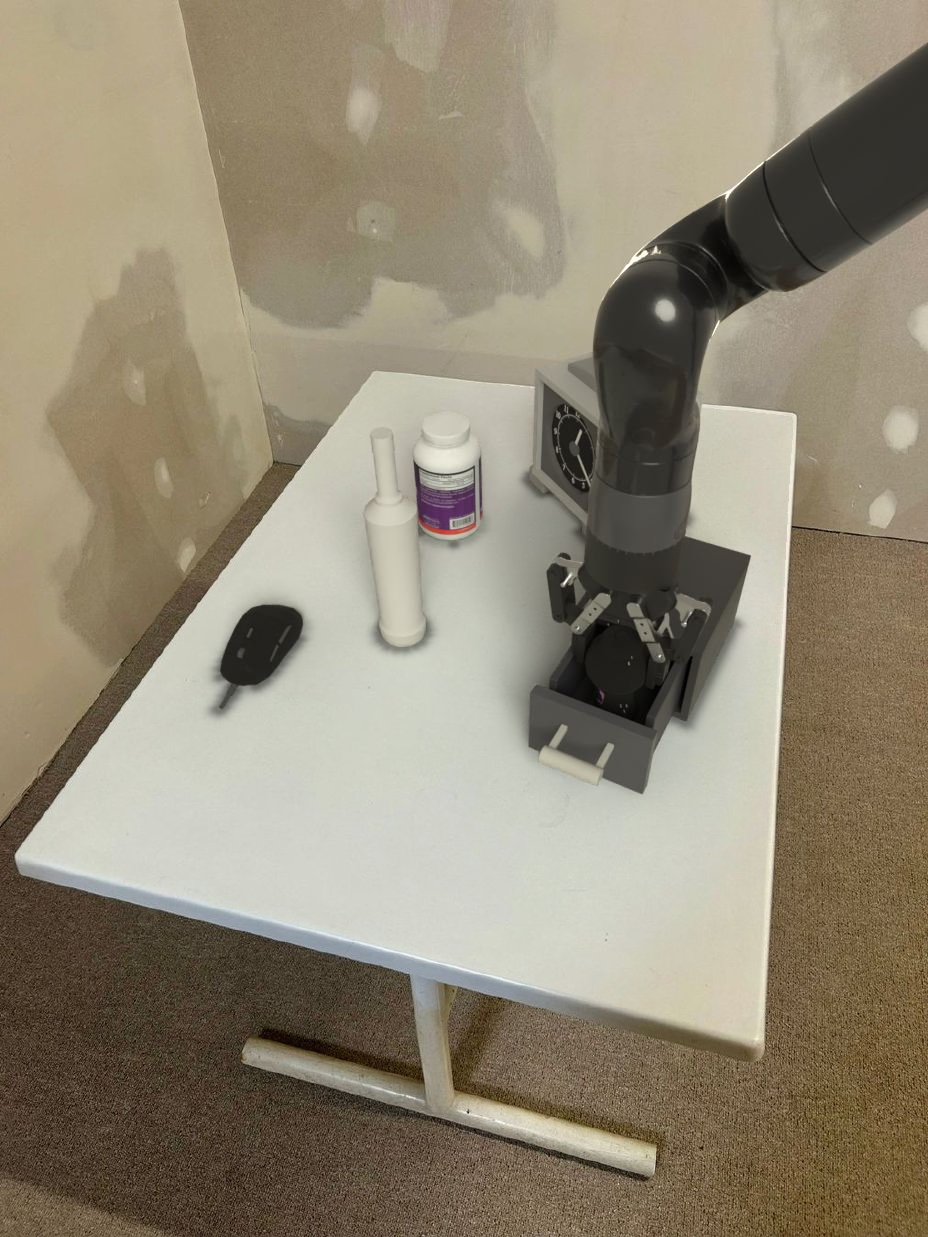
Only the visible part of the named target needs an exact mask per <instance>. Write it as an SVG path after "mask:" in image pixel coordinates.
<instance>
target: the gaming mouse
mask: <svg viewBox="0 0 928 1237" xmlns="http://www.w3.org/2000/svg"><path fill="white" fill-rule="evenodd" d="M303 620H304V619H303V616H302V614H301V613H300V612H299V611H298V610H297V609H296V608H295V607H292V606H287V605H283V604H266V603H265V604H259V605H256V606H253V607H250V608H249V609H248V610H247V611H245V612H244V613H243V614H242V615H241V617H240V618H239V620H238V622H237V623H236V624H235V626H234V628H233V631H232V633H231V634H230V637H229V639H228V641H227V643H226V646H225V649H224V652H223V655H222V658H221V662H220V668H219V671H220V676H221V677H222V678H223V679H225V680H226V681H227V682H228V683H229V684H231V685H230V686H229V687H228V690H227V691H226V695H225V696H224V698H223V700H222V701H221V703H220V705H219V709H222V710H223V709H224V707H225V706H226V704H227V702H228V701H229V699H230V697H231V696H233V695H234V693H235V691H236V690H237V688H238V686H239V687H240V686H241V687H244V686H254V685H255V686H256V685H259V684H260V683H262V682H263V681H265V680H266V679H268V678H269V677H271V675H272V674H273V673H274V671H275V670H276V669H277V667H278V666H279V665H280V664H281V663H282V662H283V659H284V658H285V657H286V655H287V654H288V653H289V651H290V650H291V649H292V648H293V646H294V645H296V642H297V641H298V639H299V638H300V636H301V634H302V630H303V627H304V626H303V625H304V621H303Z"/></svg>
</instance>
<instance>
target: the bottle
mask: <svg viewBox="0 0 928 1237" xmlns="http://www.w3.org/2000/svg"><path fill="white" fill-rule="evenodd" d="M369 435H370V436H369V437H370V445H371V446H370V447H371V452H372V456H373V466H374V473H375V481H376V489H377V491H376V492H375V493H374V497H373V498H372V499H370V500H369V501H368V502H367V503H366V504H365V505H364V508H363V511H362V514H363V519H364V525H365V526H364V527H365V532H366V537H367V545H368V549H369V557H370V562H371V569H372V575H373V580H374V588H375V593H376V599H377V605H378V612H379V618H378V627H379V631H380V634H381V636H382V639H383V640H384V641H385V642H386V643H387V644H388V645H391V646H394V647H395V648H396V647H397V648H407V647H411V646H415V644H418V643H419V642H421V641H422V639H423V638H424V637H425V635H426V629H427V615H426V614H425V612H424V603H423V601H424V600H423V587H422V584H423V583H422V568H421V552H420V536H419V521H418V511H417V504H416V502H415V501H414V500H412V499H411V498H410V497H408V496H406V495H404V494H403V493H402V491H401V490H400V489H399V483H398V473H397V464H396V456H395V455H396V453H395V451H396V450H395V448H396V447H395V440H394V438H395V437H394V432H393V430H392V429H391V428H390V427H387V426H379V427H375V428H373V429H372V430H371V431H370V433H369Z"/></svg>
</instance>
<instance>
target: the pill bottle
mask: <svg viewBox="0 0 928 1237" xmlns="http://www.w3.org/2000/svg"><path fill="white" fill-rule="evenodd" d="M470 422H471V421H470V420H469V418H468V417H467V416H465V415H464V414H462V413H459V412H455V411H438V412H434V413H432V414H430V415H428V416H426V417H425V418H424V419H423V421H422V423H421V435H420V436H419V437H418V438H417V440H416V441H415V443H414V444H413V448H412V463H413V473H414V474H413V475H414V486H415V497H416V507H417V518H418V525H419V526H420V528H421V530H422V532H424V533H425V534H426V535H428V536H430V537H431V538H435V539H437V540H443V541H456V540H457V541H458V540H462V539H465V538H467V537H470V536H471V535H472V534H474V533H475V532H476V531H477V530H478V529H479V528H480V526H481V524H482V522H483V517H484V516H483V474H482V473H483V472H482V471H483V470H482V467H483V466H482V464H483V463H482V445H481V443H480V441H479V439H478V438H477V437H476V436H475V435H474V434H473V433H471V423H470Z"/></svg>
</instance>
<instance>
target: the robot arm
mask: <svg viewBox="0 0 928 1237" xmlns="http://www.w3.org/2000/svg"><path fill="white" fill-rule="evenodd" d="M927 210H928V41H927V42H925V43H924V44H922V45H921V46H919V48H917V49H916V50H914V51H913V52H911V53H910V54H908V55H907V56H906V57H905V58H902V60H900V61H899V62H897V63H896V64H895V65H894V66H892V67H890V68H889V69H888V70H886V71H884V72H883V73H882V74H881V75H880V76H878V77H876V78H875V79H874V80H872V81H870V82H869V83H868V84H867V85H865V86H863V88H861V89H859V90H858V91H857V92H855V93H854V94H853V95H852V96H850V97H849V98H847V99H846V100H844V101H843V102H841V103H840V104H839V105H838V106H836V107H835V108H834V109H832V110H831V111H830V112H828V113H827V114H825V115H824V116H823V117H821V118H820V119H819V120H817V121H816V122H814V123H813V124H812V125H811V126H809V127H808V128H806V129H805V130H803V132H801V133H800V134H799V135H797V136H796V137H795V138H793V139H792V140H791V141H789V142H788V143H786V144H785V145H784V146H782V147H781V148H780V149H778V150H777V151H776V152H775V153H773V154H772V155H771V156H769V157H768V158H767V159H766V160H764V161H763V162H762V163H760V164H759V165H757V167H756V168H754V169H753V170H752V171H750V173H748V175H746V176H745V177H744V178H743V179H742V180H741V181H740V182H738V183H737V184H736V185H735V186H734V187H733V188H731V189H730V190H727V191H725V192H724V193H722V194H720V195H719V196H716V197H715V198H713V199H711V200H710V201H708V202H707V203H705V204H703V205H701V206H700V207H698V208H696V209H695V210H693V211H692V212H690V213H689V214H687V215H684V217H681V219H678V220H677V221H676V222H674V223H673V224H672V225H670V226H668V227H667V228H666V229H665V230H663V231H661V232H660V233H658V235H656V236H655V237H653V238H652V239H651V240H650V241H649V242H647V243H646V244H645V245H644V246H642V247H641V248H640V249H639V250H638V251H637V252H636V253H635V254H634V255H633V256H632V258H631V259H630V260H629V262H627V264H626V265H625V267H624V268H623V270H622V271H621V272H620V273H619V275H618V276H617V278H615V280H614V281H613V283H612V284H611V285H610V287H609V288H608V289H607V291H606V292H605V294H604V296H603V297H602V299H601V302H600V304H599V307H598V310H597V314H596V318H595V323H594V329H593V338H592V339H593V340H592V352H593V369H594V378H595V387H596V396H597V402H598V407H599V411H600V418H599V424H598V431H597V443H596V456H595V467H594V473H593V477H592V481H591V485H590V491H589V499H588V501H587V507H586V512H587V526H586V536H585V541H584V551H583V552H584V553H583V562H582V561H578V560H577V561H576V560H572V557H571V556H570V554H568V553H567V552H564V551H562V552H559V553H558V554H557V556H556V558H554V559H553V561H552V562H551V563H550V565H549V567H548V568H547V569H546V571H545V572H546V573H545V574H546V580H547V587H548V595H549V604H550V610H551V618H552V620H553V621H554V622H556V623H558V624H563V623H565V624H566V625H568V626H569V627H570V630H571V633H572V632H573V636H572V635H571V643H572V650H571V651H572V653H573V655H574V656H577V660H576V662H578V663H581V664H583V665H584V664H585V656H586V651H587V648H588V646H589V645H590V644H591V642H592V641H593V640H594V633H595V623H596V622H594V621H595V620H596V618H597V617H598V616H599V615H600V614H601V613H603V617H606V618H609V619H613V620H620V621H622V622H624V623H626V624H628V625H630V626H633V627H636V628H637V631H638V633H639V636H640V638H641V641H642V642H643V643H646V644H647V647H648V649H649V652H650V654H651V657H650V659H649V662H648V669H647V675H646V681H645V687H647V688H650V689H653V688H654V686H655V684H656V685H659V686H660V685H661V684H662V683H663V681H664V679H665V677H666V675H667V673H668V670H669V664H670V660H674V661H675V662H676V663H677V664H680V665H684V664H686V663H687V661H688V659H689V657H690V655H691V653H692V651H693V649H694V647H695V645H696V643H697V641H698V639H699V637H700V635H701V632H702V630H703V628H704V626H705V624H706V621H707V619H708V617H709V615H710V613H711V610H712V608H713V606H714V601H713V600H712V599H711V598H710V597H707V596H703V597H701V598H700V599H699V601H697V600H695V599H693V598H690V597H688V596H686V595H684V594H681V588H680V586H679V584H678V573H679V567H680V562H681V556H682V551H683V545H684V539H685V536H686V533H687V527H688V523H689V516H690V510H691V504H692V496H693V495H692V494H693V492H692V489H693V488H692V487H693V485H692V483H693V471H694V466H695V461H696V455H697V450H698V444H699V437H700V430H701V413H700V409H699V406H698V403H697V401H696V396H697V390H698V389H699V384H700V378H701V372H702V369H703V364H704V360H705V356H706V353H707V349H708V346H709V343H710V341H711V339H712V337H713V335H714V333H715V332H716V330H717V327H718V326H719V325H720V324H721V323H722V322H724V321H725V320H727V318H729V317H730V316H731V315H733V314H734V313H735V312H737V311H738V310H740V309H742V308H744V307H745V306H746V305H749V304H750V303H752V302H754V301H755V300H757V299H759V298H761V297H763V296H764V295H766V294H768V293H769V292H773V293H778V294H785V293H790V292H793V291H795V290H798V289H800V288H803V287H805V286H807V285H809V284H810V283H813V282H815V281H817V280H818V279H820V278H821V277H823V276H824V275H827V274H828V273H829V272H831V271H833V270H835V269H836V268H838V267H839V266H841V265H842V264H844V263H846V262H848V261H849V260H851V259H852V258H854V257H855V256H857V255H860V253H862V252H864V251H865V250H867V249H868V248H870V247H872V246H873V245H875V244H876V243H878V242H880V241H881V240H883V239H884V238H886V237H888V236H889V235H891V234H893V233H894V232H896V231H897V230H899V229H900V228H902V227H903V226H905V225H906V224H908V223H909V222H911V221H912V220H915V219H916V218H917V217H918V216H920V215H921V214H923V213H924V212H925V211H927ZM698 391H699V390H698ZM577 579H578V581H579V583H580V584H581V586H582V587H583V589H584V591H585V593H586V592H587V594H588V595H589V597H590V600H589V601H588V602H587V604H586V605H585V606H584V607H583V608H581V607H579V606H578V604H577V600H576V590H575V581H576V580H577ZM674 608H675V609H677V610H678V611H679V613H680V620H681V622H682V623H681V625H682V626H683V627H686V628H685V630H684V632H683V635H682V637H681V639H676V638H674V636H673V634H672V631H671V628H670V626H669V621H670V617H669V614H668V612H669V611H671V610H673V609H674Z"/></svg>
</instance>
